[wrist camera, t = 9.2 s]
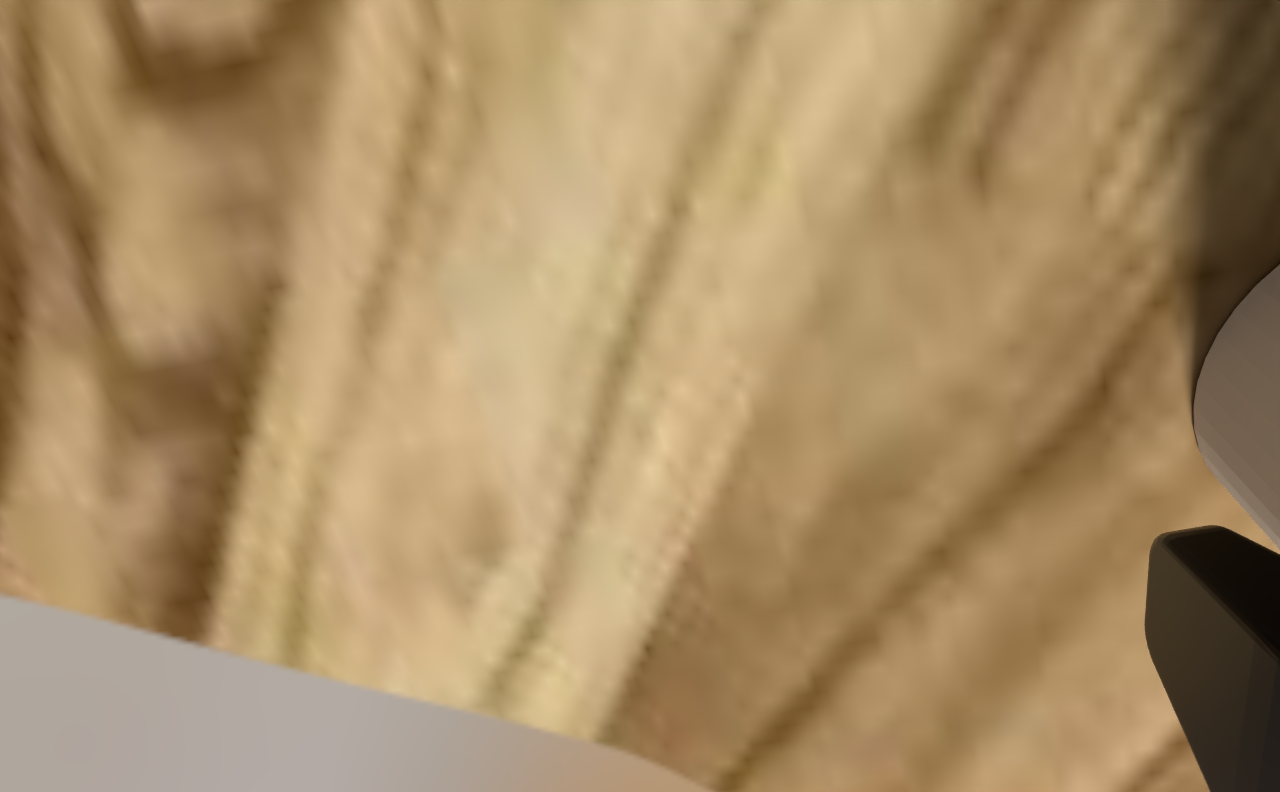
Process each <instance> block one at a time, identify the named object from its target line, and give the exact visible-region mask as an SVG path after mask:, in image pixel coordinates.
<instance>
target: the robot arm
mask: <svg viewBox="0 0 1280 792" xmlns="http://www.w3.org/2000/svg"><path fill="white" fill-rule="evenodd" d="M1145 635H1146V640H1147V645H1148V649H1149V652H1150V655H1151V658H1152V660H1153V663H1154V665H1155V668H1156V670H1157V672H1158V674H1159V677H1160V679H1161V681H1162V683H1163V686H1164V688H1165V690H1166V693H1167V695H1168V697H1169V699H1170V702H1171V704H1172V706H1173V708H1174V711H1175V713H1176V715H1177V717H1178V720H1179V722H1180V724H1181V727H1182V729H1183V731H1184V733H1185V736H1186V738H1187V740H1188V742H1189V745H1190V747H1191V749H1192V752H1193V754H1194V756H1195V758H1196V761H1197V763H1198V765H1199V767H1200V770H1201V772H1202V774H1203V777H1204V779H1205V781H1206V783H1207V786H1208V788H1209V790H1210V792H1280V554H1278V553H1276V552H1274V551H1272V550H1270V549H1268V548H1266V547H1264V546H1262V545H1260V544H1258V543H1256V542H1254V541H1252V540H1250V539H1248V538H1246V537H1244V536H1242V535H1240V534H1238V533H1236V532H1234V531H1232V530H1229V529H1227V528H1224V527H1221V526H1217V525H1208V526H1202V527H1196V528H1190V529H1184V530H1178V531H1172V532H1166V533H1163V534H1161V535H1159V536H1158V537H1157V538H1156V539H1155V540H1154V541H1153V544H1152V546H1151V550H1150V556H1149V569H1148V583H1147V597H1146V611H1145Z"/></svg>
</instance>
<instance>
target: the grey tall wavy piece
mask: <svg viewBox="0 0 1280 792" xmlns="http://www.w3.org/2000/svg"><path fill="white" fill-rule="evenodd" d="M1194 430H1195V434H1196V438H1197V442H1198V446H1199V450H1200V452H1201V454H1202V456H1203V458H1204V460H1205V462H1206V464H1207V466H1208V468H1209V469H1210V470H1211V472H1212V473H1213V474H1214V475H1215V477H1216V478H1217V479H1218V480H1219V481H1220V483H1221V484H1222V485H1223V486H1224V487H1225V488H1226V490H1227V491H1228V492H1229V493H1230V494H1231V495H1232V496H1233V497H1234V499H1235V500H1236V501H1237V502H1238V503H1239V504H1240V505H1241V507H1242V508H1243V509H1244V510H1245V511H1246V512H1247V513H1248V514H1249V516H1250V517H1251V518H1252V519H1253V520H1254V521H1255V522H1256V523H1257V525H1258V526H1259V527H1260V528H1261V529H1262V530H1263V531H1264V533H1265V534H1266V535H1267V536H1268V537H1269V538H1270V539H1271V540H1272V542H1273V543H1274V544H1275V545H1276V546H1277V547H1278V548H1279V549H1280V264H1279V265H1278V266H1277V267H1276V268H1275V269H1274V270H1273V271H1272V272H1270V273H1269V274H1268V275H1267V276H1266V277H1265V278H1264V279H1263V280H1261V281H1260V282H1259V283H1258V284H1257V285H1256V286H1255V287H1254V288H1253V289H1252V290H1251V292H1250V293H1249V294H1248V295H1247V296H1246V297H1245V298H1244V299H1243V301H1242V302H1241V303H1240V304H1239V305H1238V306H1237V307H1236V308H1235V310H1234V311H1233V313H1232V314H1231V316H1230V317H1229V318H1228V320H1227V321H1226V323H1225V324H1224V326H1223V327H1222V329H1221V330H1220V331H1219V333H1218V335H1217V337H1216V339H1215V341H1214V343H1213V344H1212V346H1211V348H1210V350H1209V352H1208V354H1207V356H1206V358H1205V361H1204V364H1203V367H1202V370H1201V373H1200V376H1199V379H1198V382H1197V388H1196V394H1195V401H1194Z"/></svg>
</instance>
